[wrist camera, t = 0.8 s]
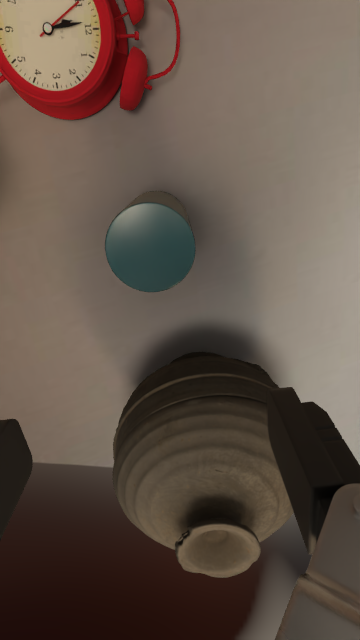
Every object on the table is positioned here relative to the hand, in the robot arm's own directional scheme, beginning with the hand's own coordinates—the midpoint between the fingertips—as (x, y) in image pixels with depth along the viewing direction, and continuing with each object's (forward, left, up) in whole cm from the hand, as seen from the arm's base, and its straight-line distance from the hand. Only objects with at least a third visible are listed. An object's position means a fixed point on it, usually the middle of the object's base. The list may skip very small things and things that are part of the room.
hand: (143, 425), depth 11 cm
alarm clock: (-17, -2, -26) cm, 31 cm away
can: (-2, 0, -26) cm, 26 cm away
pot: (+18, 0, -26) cm, 31 cm away
